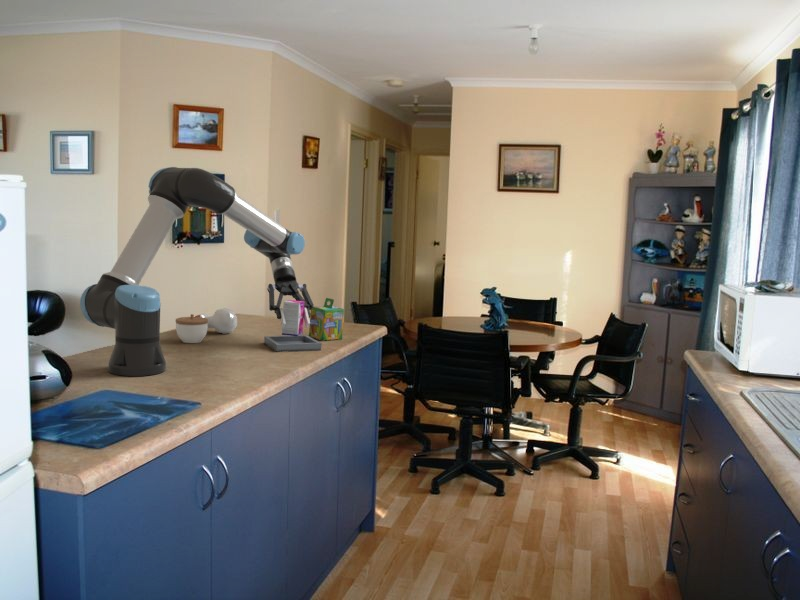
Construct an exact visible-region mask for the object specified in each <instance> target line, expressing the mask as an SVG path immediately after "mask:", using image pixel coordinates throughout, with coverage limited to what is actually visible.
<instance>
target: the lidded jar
mask: <svg viewBox="0 0 800 600" xmlns="http://www.w3.org/2000/svg"><path fill="white" fill-rule="evenodd" d="M175 329H176V331H175V332H176V334H177V336H178V338H179V339H180V341H181V342H182V343H185V344H198V343H199V344H200V343H201V342H202V340H203V339H205V337H206V336H207V333H208V329H209V328H208V319H207V318H202V317H195V316H194V314H193V313H191V314H190V316H183V317H182V316H181V317H177V318H175Z"/></svg>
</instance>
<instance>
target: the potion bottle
mask: <svg viewBox="0 0 800 600" xmlns="http://www.w3.org/2000/svg"><path fill="white" fill-rule="evenodd" d="M194 317H202V318H207V319H208V329H214V331H215V332H217V333H219V334H221V333H222V335H225V334H230V333H232V332H233V331H234V330H235V329H236V328H237V326H238V317H237V315H236V313H235V312H234V311H233V310H231V309H229V308H227V307H223V308H220V309H216V310H215V312H214V314H212V315H207V314H206V313H205V312H204V313H201V314H197V315H195V316H194Z"/></svg>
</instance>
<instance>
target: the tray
mask: <svg viewBox="0 0 800 600" xmlns="http://www.w3.org/2000/svg"><path fill="white" fill-rule="evenodd" d="M263 338H264V340H263V343H264V344H265V345H266V344H267V345H266V346H268V348H270V347H271V350H273V349H274V350H273V351H275V352H276V351H277V352H276V353H283V352H282V351H288V352H303V351H304V352H309V351H311V352H312V351H322V342H320V341H318V339H315V338H312V337H309V335H307V334H305V335H303V334H300V335H298V336H289V335H270V336H268V335H265V336H264V337H263ZM280 351H281V352H280Z"/></svg>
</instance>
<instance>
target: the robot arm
mask: <svg viewBox="0 0 800 600" xmlns="http://www.w3.org/2000/svg"><path fill="white" fill-rule="evenodd" d="M148 182H149V183H148V189H149V190H148V196H147V201H148V204H149V205H148V207H147V209H146V211H145V213H144V214H143V215H142V217H141V218H140V221H139V222H138V224H137V226H136V228H135V229H134V231H133V233H132V234H131V236H130V238H129V239H128V241H127V243H126V244H125V247H124V248H123V250H122V251H121V253H120V255H119V257H118V258H117V260H116V262H115V263H114V265H113V267H112V268H111V270H110V271H108V272H104V273H102V275H101V276H100V277H99V279H98V281H97V283H94V284H91V285H88V287H86V288H85V289H84V290H83V292H82V294H81V296H80V300H79V307H80V311H81V315H82V316H83V317H84V319H85V320H86V321H88V322H89V323H91V324H94V325H96V326H98V327H103V328H104V327H105V328H109V329H114V330H115V331H114V332H115V334H114V335H115V339H114V340H115V341H114V343H115V344H114V346H113V348H112V352H111V355H110V358H109V360H108V367H107V368H108V370H107V371H108V372H109V373H110V374H112V375H115V376H116V375H117V376H125V377H141V376H142V377H144V376H153V375H159V374H161V373H163V372H165V371H166V369H167V364H166V363H167V362H166V358H165V355H164V352H163V350H162V346H161V343H160V342H161V341H160V337H161V336H160V332H161V331H160V329H161V328H160V327H161V326H160V325H161V306H162V305H161V304H162V303H161V295H160V293H159V291H158V290H157V289H155V288H152V287H150V286H145V285H140V283H141V282H142V279H143V278H144V277H145V275H146V273H147V271H148V269H149V267H150V266H151V264H152V261H153V260H154V259H155V257H156V255H157V253H158V251H159V249H160V247H161V246H162V245H163V242H164V240H165V239H166V237H167V236H168V233H169V232H170V230H171V228H172V227H173V224H175V221H176V220H179V219H182V218H184V216H185V214H186V213H187V211H188V209H189V207H190V208H191V207H193V208H201V209H206V210H208V211H211V212H213V213H215V214H216V215H223V216H226V217H227V218H228V219H230V220H231V221H232V222H234V223H236V224H237V225H238V226H240V227H242V228H243V229H245V232H244V235H243V241H244V242H245V244H247V245H248V246H249V247H250V248H251V249H253V250H255V251H256V252H259V253H260V254H262V255H263V256H265V257H267V258H268V259H269V263H270V268H271V271H272V272H271V273H272V275H273V280H274V284H272V283H269V284H268V285H267V288H266V289H267V292H268V299H269V300H268V303H269V304H268V306H269V307H268V308H269V311H270V312H271V311H274V314H275V315H276V319H277V320H279V321H280V325H281V326H280V327H281V329H282V328H284V327H285V325H286V321H285V317H284V313H283V307H281V305H282V301H283V297H285V296H291V297H292V298H293V299H294V300H295V301H304V319H303V322H304V324H305V328H307V329H308V328H310V315H311V314H310V313H311V310H312V308H313V306H315V305H314V303H313V300H312V298H311V296H310V293H309V291H308V288H307V284H306V283H303V284H299V283H298V282H297V278H296V273H295V269H294V265H293V261H292V257H291V255H295V256H296V255H299V254H301V253H302V252H303V251H304V249H305V246H306V239H305V237H304V236H303V234H301V233H299V232H296V231H290V230H288V229H287V228H286V227H284V226H283V225H281V224H280V223H279V222H277V221H275V220H274V219H273V218H271V217H270V216H269V215H267V214H266V213H264V212H263V211H262V210H260V209H258V208H257V207H256V206H254V205H253V204H251V203H250V202H249V201H247V199H244V197H243V198H242V197H241V196H240V195H238V194H237V193H236V189H235V188H234V187H233V186H232V185H230V184H229V183H228V182H226V181H225V180H223V179H221V178H220V177H218V176H216V175H214V174H213V173H212V172H209V171H207V170H205V169H202V168H199V167H177V166H170V167H164V168H160V169H158V170H157V171H156V172H154V173H153V174H152V176H151V177H150V179H149V181H148ZM275 290H276V291H277V292H279V295H278V298H277V302H276V305H275ZM300 292H301V293H300Z"/></svg>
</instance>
